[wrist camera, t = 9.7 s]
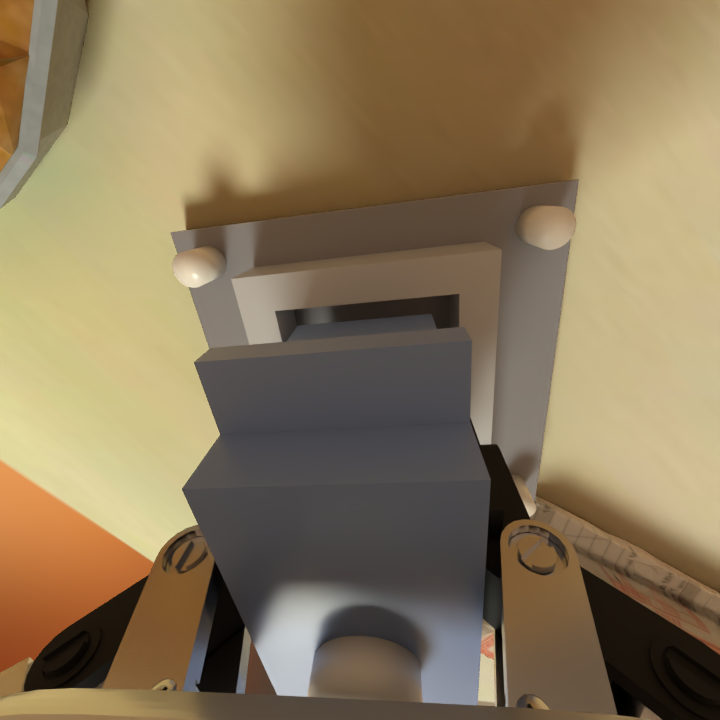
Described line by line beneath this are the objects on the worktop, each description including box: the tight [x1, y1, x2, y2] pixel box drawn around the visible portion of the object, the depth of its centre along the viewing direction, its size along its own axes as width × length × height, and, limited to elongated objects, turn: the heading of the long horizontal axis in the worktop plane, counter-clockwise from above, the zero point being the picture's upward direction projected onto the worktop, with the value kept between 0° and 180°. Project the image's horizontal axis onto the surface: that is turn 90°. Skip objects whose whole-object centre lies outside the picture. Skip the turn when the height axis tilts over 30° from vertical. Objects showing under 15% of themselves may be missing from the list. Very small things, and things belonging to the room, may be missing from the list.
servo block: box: [182, 314, 491, 705], centre depth 9 cm, size 4×10×8 cm, turn 7°
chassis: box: [171, 180, 579, 517], centre depth 14 cm, size 14×14×3 cm
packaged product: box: [481, 496, 720, 660], centre depth 19 cm, size 18×5×10 cm
